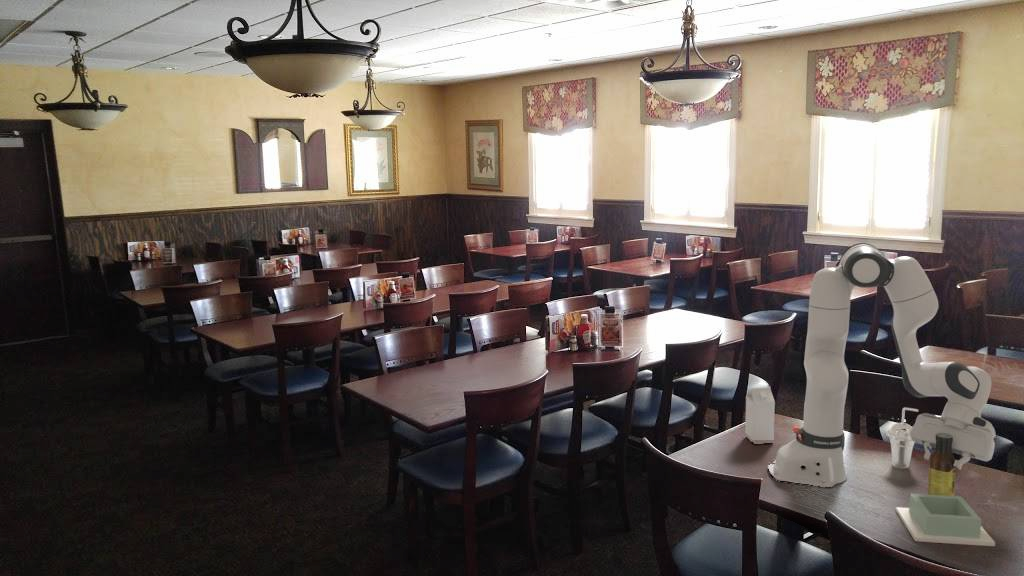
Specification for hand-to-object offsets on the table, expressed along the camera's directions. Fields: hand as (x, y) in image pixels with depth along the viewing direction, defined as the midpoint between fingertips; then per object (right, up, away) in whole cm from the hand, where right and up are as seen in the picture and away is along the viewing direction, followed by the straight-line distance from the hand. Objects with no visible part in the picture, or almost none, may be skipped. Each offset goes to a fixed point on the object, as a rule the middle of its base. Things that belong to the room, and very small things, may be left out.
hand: (941, 463), depth 198 cm
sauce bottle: (+1, -12, +3) cm, 12 cm away
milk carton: (-33, -4, +50) cm, 60 cm away
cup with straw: (+3, -7, +26) cm, 27 cm away
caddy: (-6, -14, -10) cm, 18 cm away
